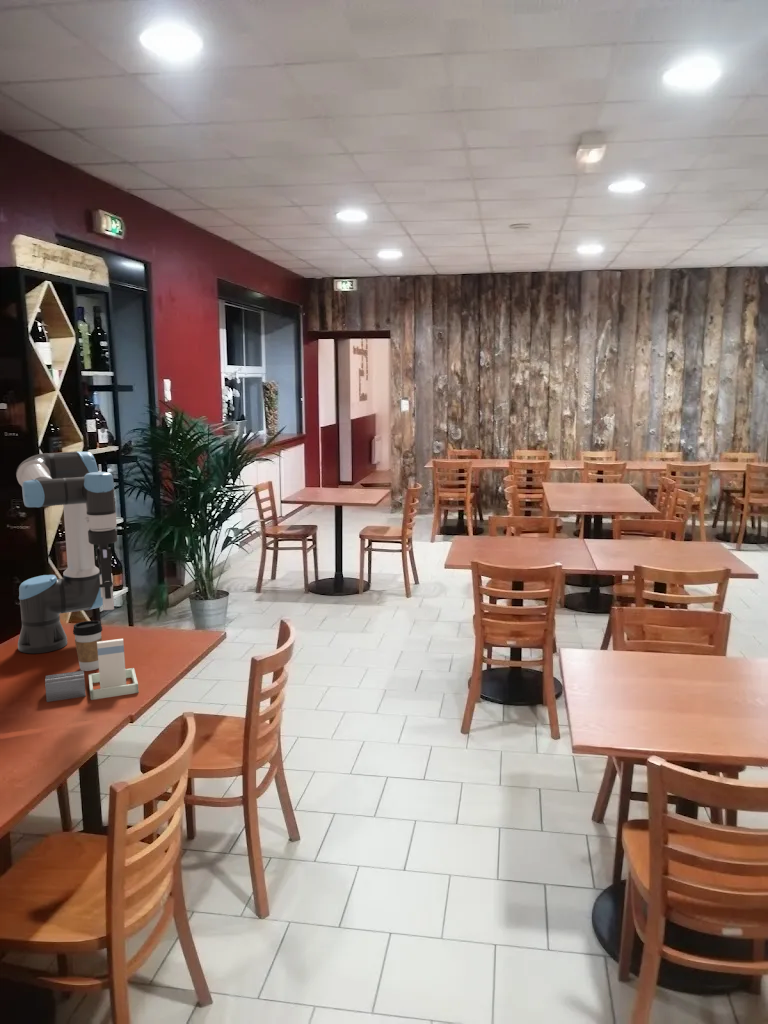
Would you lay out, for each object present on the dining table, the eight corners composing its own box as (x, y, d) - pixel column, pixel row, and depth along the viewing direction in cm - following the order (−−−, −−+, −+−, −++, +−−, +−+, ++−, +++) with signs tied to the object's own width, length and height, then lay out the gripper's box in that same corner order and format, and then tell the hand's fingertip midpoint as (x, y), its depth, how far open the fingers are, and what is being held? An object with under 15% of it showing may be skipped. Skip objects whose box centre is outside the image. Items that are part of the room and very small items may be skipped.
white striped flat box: (100, 688, 222) (96, 641, 220) (126, 685, 225) (122, 638, 222) (100, 690, 221) (97, 643, 218) (126, 687, 223) (123, 640, 221)
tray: (89, 685, 227) (88, 674, 226) (134, 679, 231) (133, 667, 231) (91, 703, 214) (90, 691, 214) (138, 695, 219) (138, 684, 218)
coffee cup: (95, 676, 234) (92, 628, 232) (70, 674, 236) (66, 626, 233) (110, 666, 242) (107, 619, 240) (86, 664, 244) (82, 618, 241)
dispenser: (47, 695, 219) (45, 673, 218) (85, 690, 223) (83, 668, 222) (46, 705, 213) (45, 682, 212) (86, 699, 217) (84, 676, 216)
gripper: (86, 521, 225) (91, 593, 229) (89, 538, 202) (94, 616, 206) (113, 520, 228) (118, 590, 231) (119, 535, 205) (124, 613, 209)
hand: (107, 603), depth 219 cm, fingers open, 13 cm apart
